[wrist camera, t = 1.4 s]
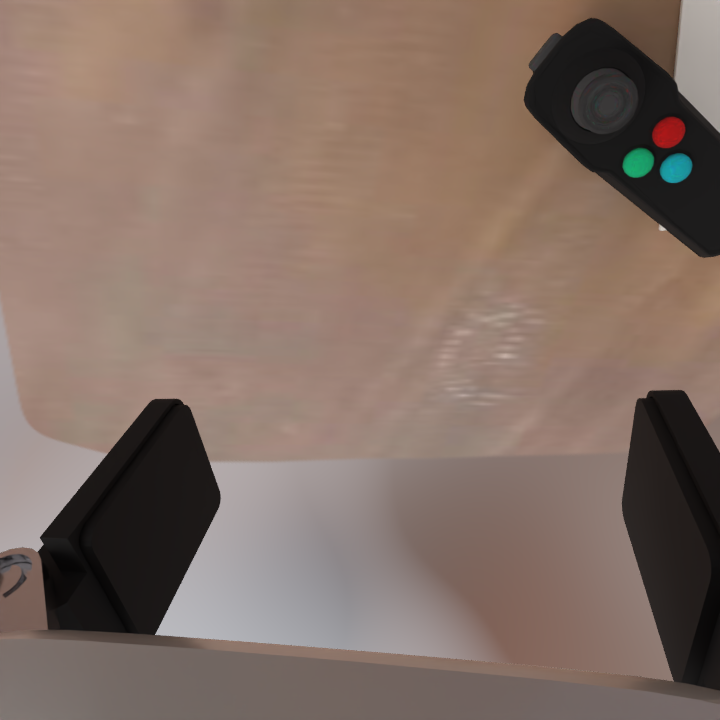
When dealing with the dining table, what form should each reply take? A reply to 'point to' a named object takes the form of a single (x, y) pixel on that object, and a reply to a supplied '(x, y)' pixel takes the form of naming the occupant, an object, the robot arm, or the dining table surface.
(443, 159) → the dining table surface
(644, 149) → the controller
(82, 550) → the robot arm
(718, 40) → the mat
